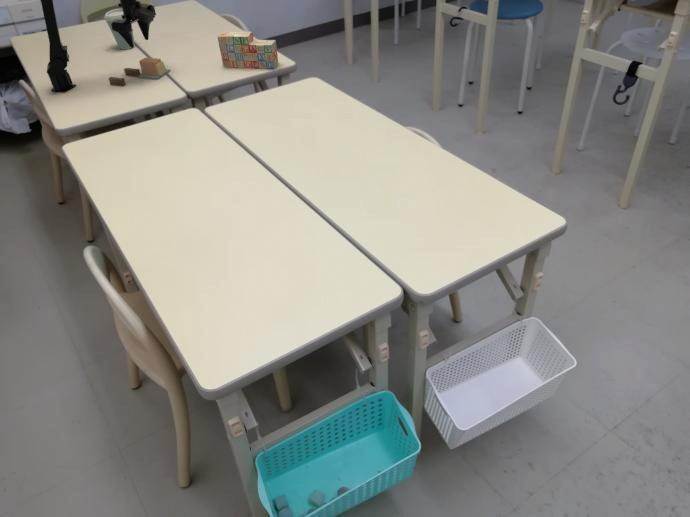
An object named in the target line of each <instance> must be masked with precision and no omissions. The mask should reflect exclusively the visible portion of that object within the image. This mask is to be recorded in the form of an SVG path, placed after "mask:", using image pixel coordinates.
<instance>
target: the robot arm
mask: <svg viewBox="0 0 690 517" xmlns="http://www.w3.org/2000/svg"><path fill="white" fill-rule="evenodd" d="M40 3H41V7H42V13H43V18H44V22H45V27H46V32H47V38H48V41H49V42H48V43H49V49H48V50H49V53H48V54H49V62H48V63H47V67H46V73H47V76H48V78H49V81H50V83H51V85H52V88H51V89H50V91H52V92H60V93H66V92H68V91H69V90H71V89H73V88H74V87H76V84H75V83H74V84H73V81H72V79H71V75H70V73H69V72H68V70H67V69H66V68H67V67H68V62H70V54H69V53H68V45H63V43H62V40H61V36H60V29H59V25H58V20H57V14H56V10H55V4H54V0H40ZM117 5H118V7H120V8H122V10H123V14H124V15H122V19H125V20H119V19H118V20H116V21H113V22H112V23H111V27H112V30H113V31H115V32H118V33H119V34H120V35H121V36H122V37H123V38H124V40H125V41H126V42H127V43H128V45H129V46H130V47H131V48H130V49H132V48H133V49H134V48H135V46H134V45H135V44H134V45H133V40H132V35H131V33H132V31H134V29H133V26H132V24H135V23H136V22H137V25H138V27H139V29H140V31H141V33H142V36H143V38H144V40H145V41H148V40H149V36H150V35H149V34H150V33H149V32H150V25H151V23H152V22H153V21H154V19H155V18H156V15H157V14H156V8H155V6H154V5H152V4H149V5H147V6H142V4H141V1H139V0H119V3H117ZM131 27H132V29H131Z"/></svg>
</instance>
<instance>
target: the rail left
mask: <svg viewBox="0 0 690 517" xmlns="http://www.w3.org/2000/svg"><path fill="white" fill-rule="evenodd" d="M125 79H126V78H124V77H116V76H114V77H113V76H110V77H109V78H108V81H109V84H110V86H119V87H125V86H126V85H127V83H126V80H125Z"/></svg>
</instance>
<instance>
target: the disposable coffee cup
mask: <svg viewBox="0 0 690 517" xmlns="http://www.w3.org/2000/svg"><path fill="white" fill-rule="evenodd" d="M122 15H124V14H123V10H122V7H120V8H113V9H111V10H109V11H107V12H105V14H104V20H105V21H106V24H107V25H108V28H109V30H110V32H111V33H112V36H113V38H114V39H115V42H116V44H117V46H118V48H119V49H120V50H129V49H132V48H131V47H130V46H129V45H128V43H127V42H126V41H125V40H124V38H123V37H122V36H121V35H120V34H119V33H118V32H115V31H113V30H112V27H111V23H112V22H113V21H116V20H118V19H119V20H125V19H122ZM131 29H133V26H132V27H131ZM133 31H134V30H133ZM133 31H132V33H131V35H132V40H133V45H134V47H135V46H136V45H135V43H136V42H135V38H134V32H133Z"/></svg>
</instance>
